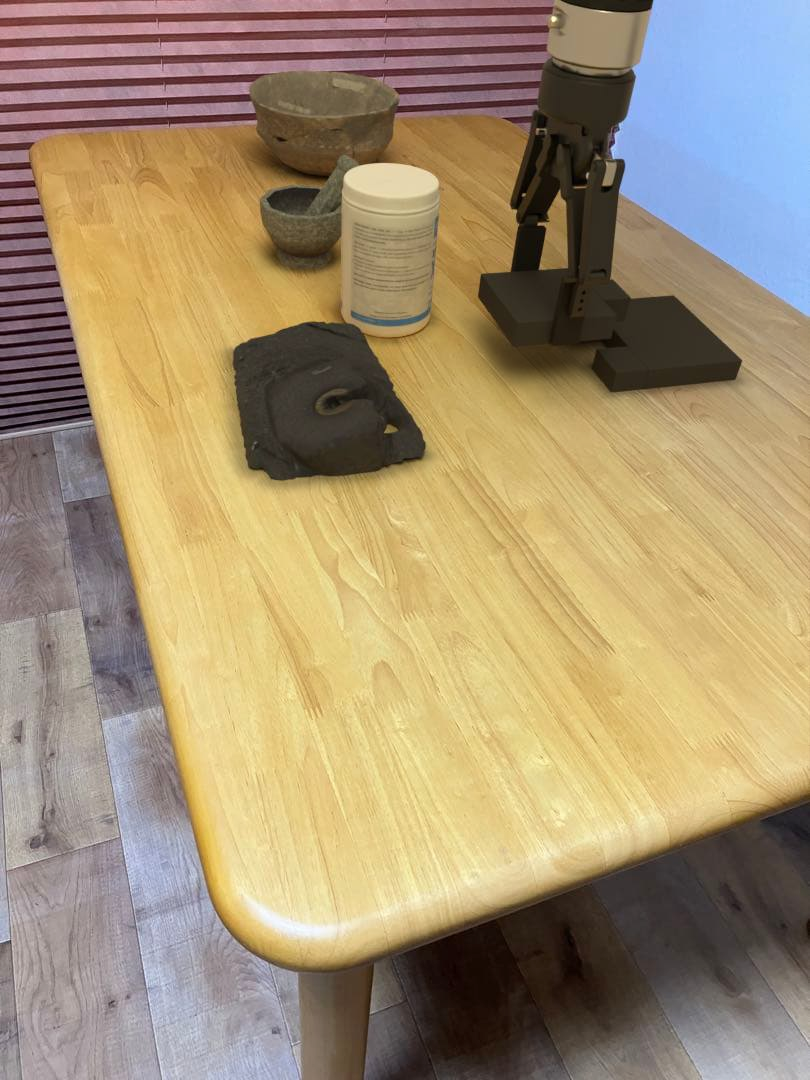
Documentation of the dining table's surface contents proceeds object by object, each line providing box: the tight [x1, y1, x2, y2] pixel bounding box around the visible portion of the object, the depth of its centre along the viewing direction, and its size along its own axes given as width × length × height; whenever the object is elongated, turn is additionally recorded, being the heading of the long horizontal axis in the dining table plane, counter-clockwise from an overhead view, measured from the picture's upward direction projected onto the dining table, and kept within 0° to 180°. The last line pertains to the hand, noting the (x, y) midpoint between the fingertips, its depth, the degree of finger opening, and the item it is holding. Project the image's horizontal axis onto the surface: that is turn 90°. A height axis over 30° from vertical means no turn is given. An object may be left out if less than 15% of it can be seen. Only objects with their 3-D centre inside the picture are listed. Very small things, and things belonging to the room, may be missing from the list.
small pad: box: [477, 267, 632, 348], centre depth 85 cm, size 13×10×2 cm
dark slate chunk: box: [232, 320, 427, 482], centre depth 78 cm, size 15×22×5 cm
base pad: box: [578, 294, 743, 393], centre depth 91 cm, size 14×14×2 cm
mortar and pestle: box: [259, 155, 360, 270], centre depth 98 cm, size 11×9×12 cm
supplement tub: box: [340, 162, 441, 339], centre depth 88 cm, size 10×10×15 cm
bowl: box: [248, 69, 401, 177], centre depth 122 cm, size 21×21×10 cm
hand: (541, 315), depth 85 cm, fingers closed on small pad, 10 cm apart
